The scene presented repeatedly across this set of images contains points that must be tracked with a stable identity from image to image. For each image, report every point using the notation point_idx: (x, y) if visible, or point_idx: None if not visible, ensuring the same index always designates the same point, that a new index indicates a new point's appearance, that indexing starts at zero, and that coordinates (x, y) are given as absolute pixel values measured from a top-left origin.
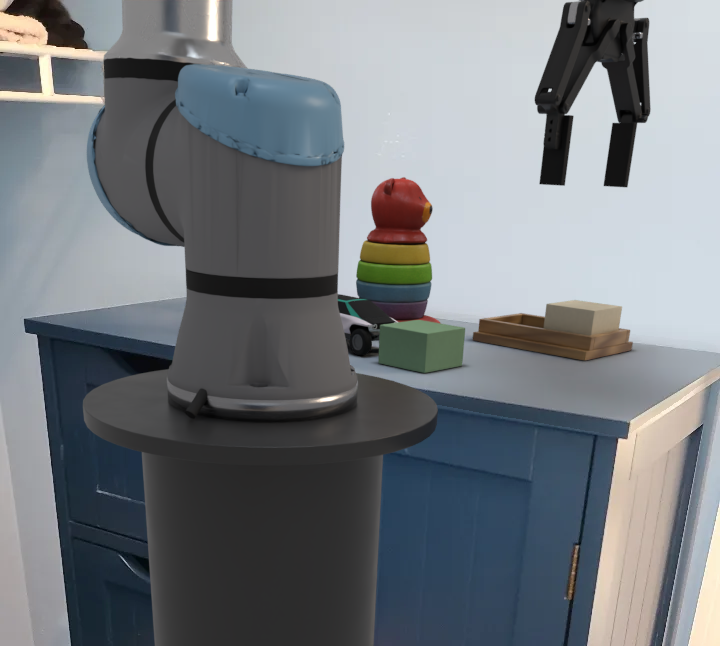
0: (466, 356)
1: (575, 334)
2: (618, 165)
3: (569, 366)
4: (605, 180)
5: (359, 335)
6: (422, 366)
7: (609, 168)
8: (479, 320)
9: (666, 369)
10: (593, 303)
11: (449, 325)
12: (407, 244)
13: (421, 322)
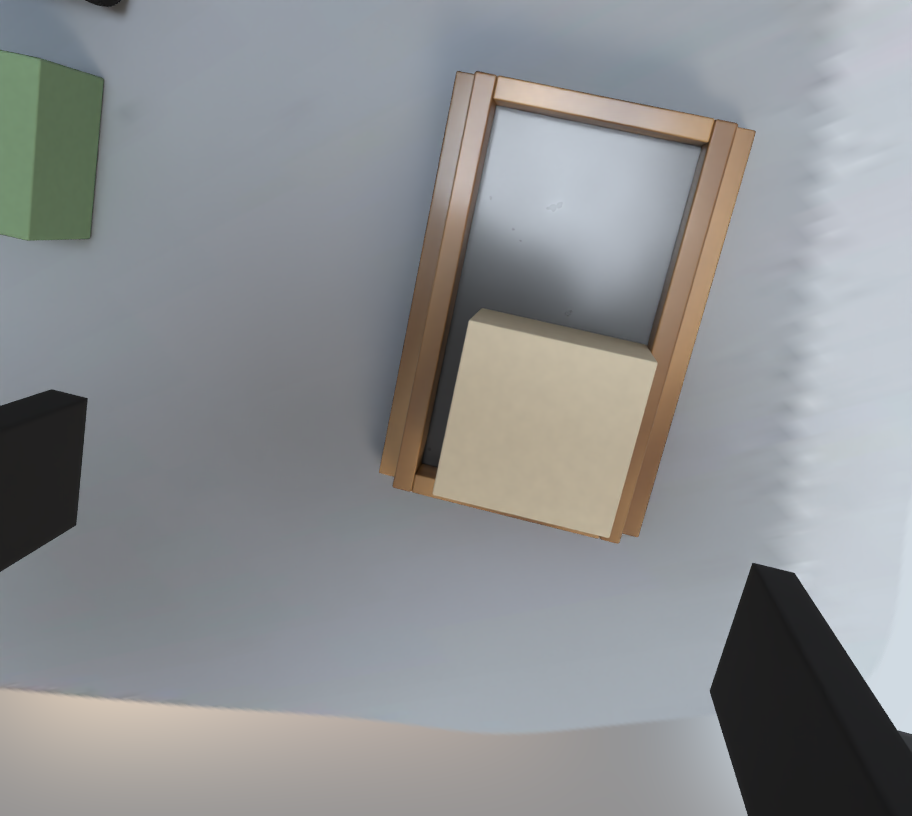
0: (213, 185)
1: (402, 438)
2: (755, 709)
3: (287, 454)
4: (754, 586)
5: None
6: None
7: (770, 637)
8: (475, 73)
9: (424, 654)
10: (608, 443)
11: (21, 188)
12: None
13: (2, 95)
